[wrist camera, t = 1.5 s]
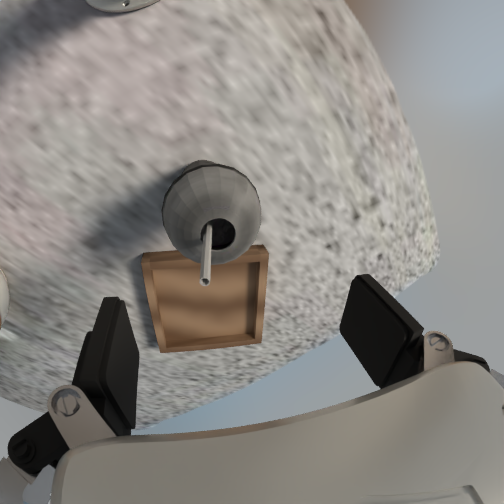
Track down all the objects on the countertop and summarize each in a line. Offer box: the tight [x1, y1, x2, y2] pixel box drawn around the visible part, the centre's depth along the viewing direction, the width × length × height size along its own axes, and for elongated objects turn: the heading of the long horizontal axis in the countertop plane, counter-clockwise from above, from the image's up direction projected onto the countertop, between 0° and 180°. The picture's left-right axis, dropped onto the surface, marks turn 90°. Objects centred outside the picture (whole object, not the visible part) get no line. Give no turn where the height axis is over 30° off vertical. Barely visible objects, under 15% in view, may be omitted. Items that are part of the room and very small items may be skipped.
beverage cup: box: [162, 160, 261, 286], centre depth 21 cm, size 7×7×20 cm
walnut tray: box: [141, 245, 269, 353], centre depth 36 cm, size 15×15×2 cm
